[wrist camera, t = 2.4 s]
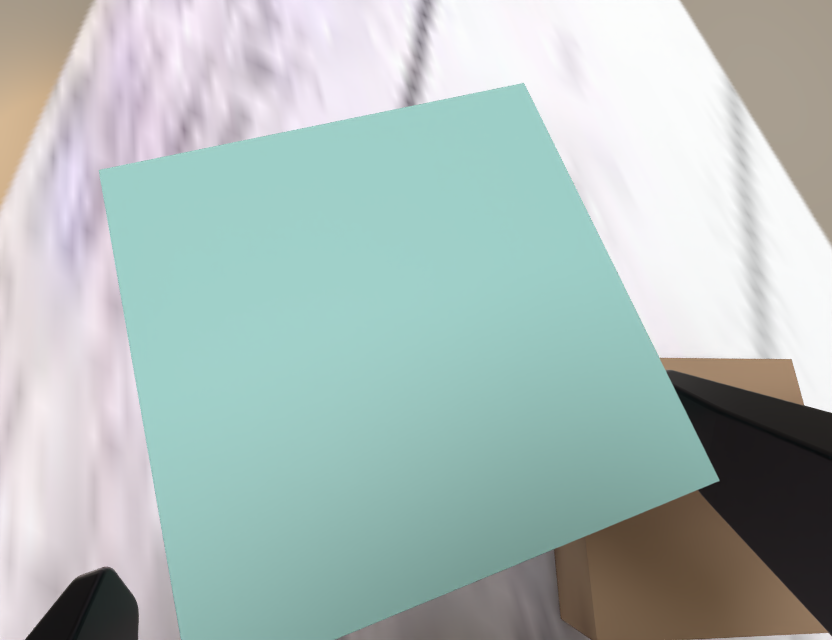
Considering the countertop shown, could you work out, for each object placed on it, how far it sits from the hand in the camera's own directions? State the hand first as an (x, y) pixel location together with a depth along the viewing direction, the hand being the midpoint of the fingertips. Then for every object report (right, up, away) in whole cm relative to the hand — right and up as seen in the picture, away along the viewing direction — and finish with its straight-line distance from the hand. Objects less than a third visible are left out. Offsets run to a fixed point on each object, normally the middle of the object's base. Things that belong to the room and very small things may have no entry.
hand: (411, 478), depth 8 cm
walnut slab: (+9, -3, +10) cm, 13 cm away
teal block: (-1, -2, +9) cm, 9 cm away
